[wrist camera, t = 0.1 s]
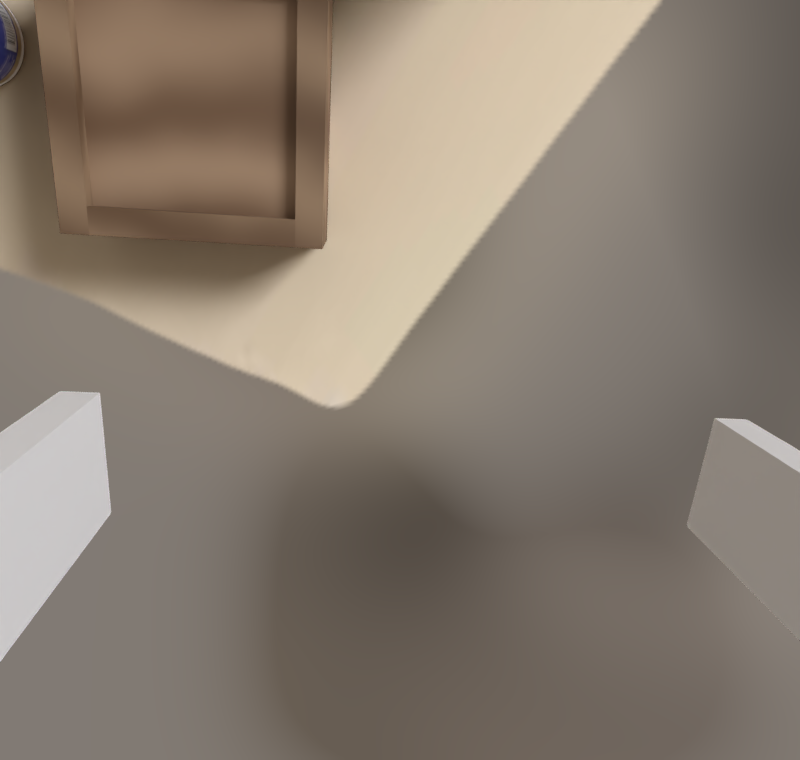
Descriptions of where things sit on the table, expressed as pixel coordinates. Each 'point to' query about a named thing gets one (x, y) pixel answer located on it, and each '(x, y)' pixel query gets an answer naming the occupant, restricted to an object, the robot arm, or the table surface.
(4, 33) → the pill bottle
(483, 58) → the table surface
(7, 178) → the table surface
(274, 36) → the tray
